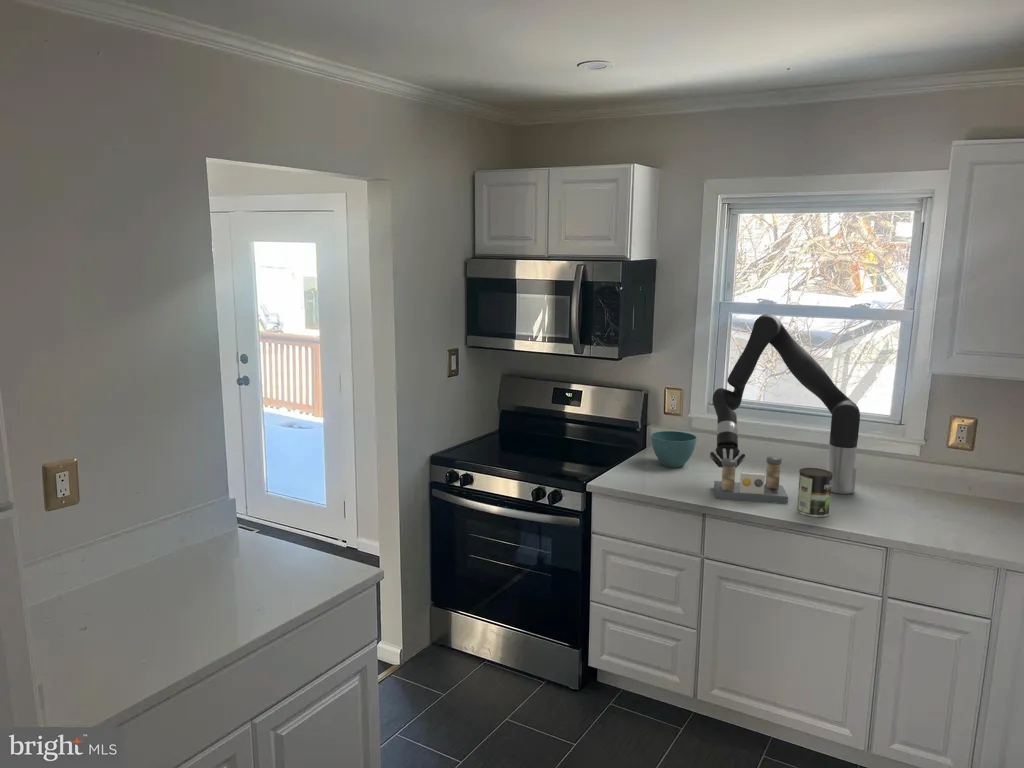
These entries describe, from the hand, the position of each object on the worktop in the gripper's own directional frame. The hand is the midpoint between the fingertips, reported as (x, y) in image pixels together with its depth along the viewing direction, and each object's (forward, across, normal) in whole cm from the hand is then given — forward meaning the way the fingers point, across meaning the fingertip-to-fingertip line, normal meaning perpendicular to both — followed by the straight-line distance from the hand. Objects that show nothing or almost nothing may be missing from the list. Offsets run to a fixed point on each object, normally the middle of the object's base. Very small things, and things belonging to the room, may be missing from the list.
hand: (727, 477), depth 265 cm
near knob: (0, +16, +6) cm, 17 cm away
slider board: (+4, +8, +5) cm, 10 cm away
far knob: (+4, 0, +1) cm, 5 cm away
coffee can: (+14, +27, -5) cm, 31 cm away
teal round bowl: (-19, -19, +29) cm, 40 cm away
